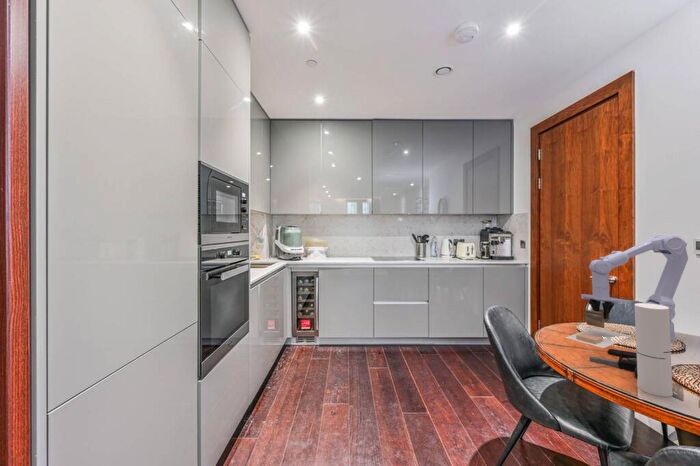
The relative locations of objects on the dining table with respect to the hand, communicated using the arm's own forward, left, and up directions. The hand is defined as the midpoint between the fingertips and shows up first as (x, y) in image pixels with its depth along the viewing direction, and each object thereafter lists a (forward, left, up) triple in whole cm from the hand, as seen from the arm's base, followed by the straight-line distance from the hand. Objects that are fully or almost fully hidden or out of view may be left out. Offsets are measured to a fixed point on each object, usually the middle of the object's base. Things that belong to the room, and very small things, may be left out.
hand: (602, 317), depth 130 cm
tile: (+8, 0, -7) cm, 10 cm away
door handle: (+26, +16, -9) cm, 32 cm away
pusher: (+2, 0, -2) cm, 3 cm away
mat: (+4, 0, -8) cm, 9 cm away
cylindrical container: (+39, +29, -8) cm, 49 cm away
